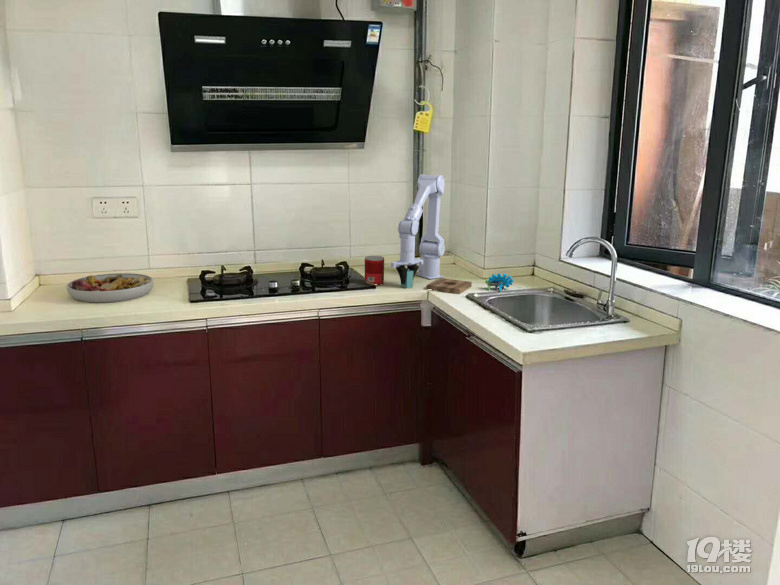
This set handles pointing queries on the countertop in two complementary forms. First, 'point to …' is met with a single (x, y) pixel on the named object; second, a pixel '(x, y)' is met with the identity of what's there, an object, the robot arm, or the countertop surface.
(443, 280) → the slot plate
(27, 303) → the countertop surface
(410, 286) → the post
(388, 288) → the countertop surface
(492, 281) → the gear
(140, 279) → the bowl
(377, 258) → the canned food
